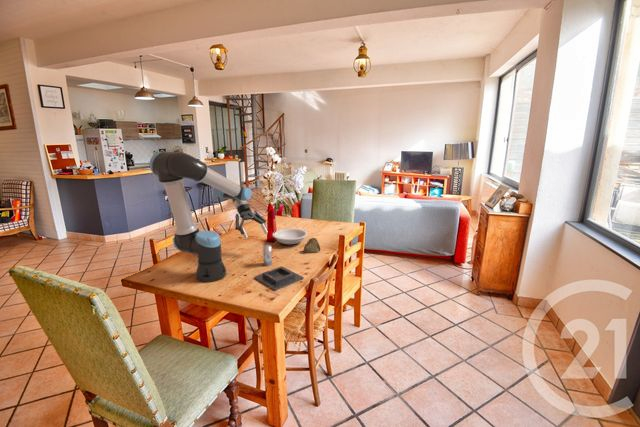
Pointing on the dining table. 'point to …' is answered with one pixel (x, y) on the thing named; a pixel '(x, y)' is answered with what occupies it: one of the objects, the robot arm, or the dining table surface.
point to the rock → (312, 246)
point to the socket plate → (278, 278)
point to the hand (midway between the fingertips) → (256, 235)
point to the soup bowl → (290, 235)
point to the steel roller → (267, 255)
